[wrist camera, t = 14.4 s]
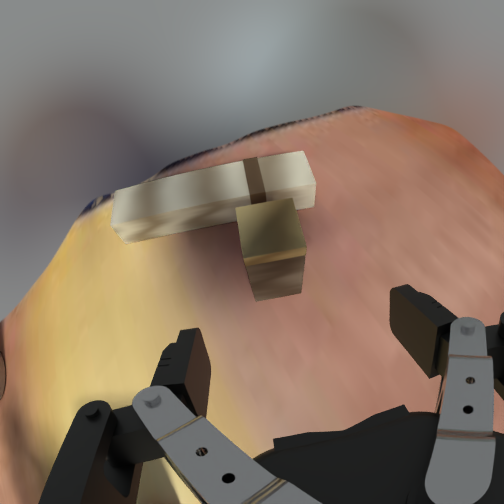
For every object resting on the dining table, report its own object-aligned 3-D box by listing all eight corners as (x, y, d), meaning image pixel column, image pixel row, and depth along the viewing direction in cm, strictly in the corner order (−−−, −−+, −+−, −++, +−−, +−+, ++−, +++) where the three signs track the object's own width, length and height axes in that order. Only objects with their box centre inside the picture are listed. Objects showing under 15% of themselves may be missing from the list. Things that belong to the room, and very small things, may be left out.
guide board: (125, 244, 34) (109, 225, 30) (128, 210, 36) (114, 190, 33) (314, 207, 33) (316, 183, 30) (302, 174, 36) (303, 149, 32)
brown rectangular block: (255, 301, 29) (243, 258, 21) (248, 261, 31) (235, 207, 23) (301, 293, 29) (306, 246, 21) (291, 253, 31) (292, 197, 23)
